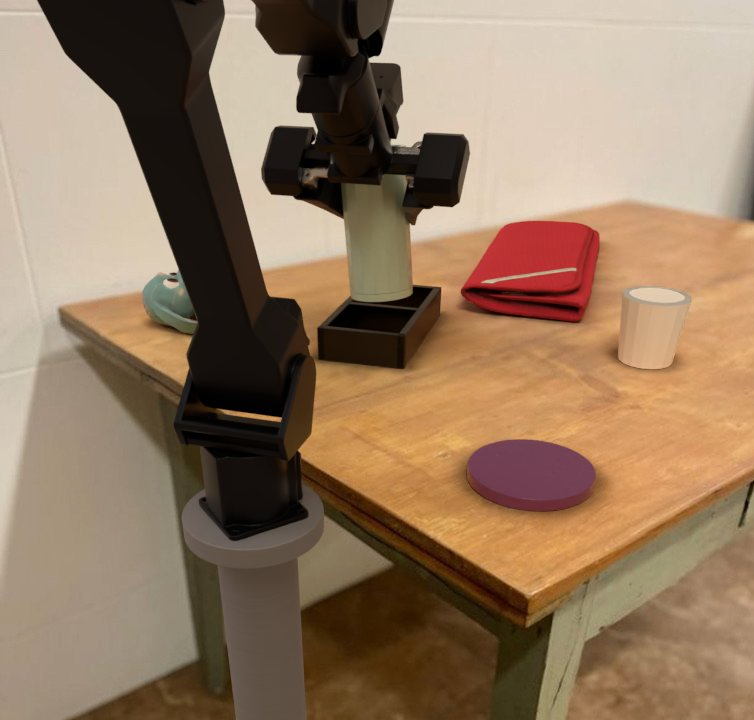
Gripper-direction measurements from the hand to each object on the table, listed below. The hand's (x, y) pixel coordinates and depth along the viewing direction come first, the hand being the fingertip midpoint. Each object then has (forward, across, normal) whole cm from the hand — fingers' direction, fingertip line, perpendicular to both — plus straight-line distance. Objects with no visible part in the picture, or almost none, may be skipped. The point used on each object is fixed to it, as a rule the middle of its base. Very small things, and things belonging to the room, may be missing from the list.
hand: (381, 218), depth 83 cm
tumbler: (+4, -1, +6) cm, 7 cm away
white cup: (+13, -28, +6) cm, 32 cm away
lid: (-8, -20, +27) cm, 35 cm away
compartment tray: (+12, 0, +7) cm, 14 cm away
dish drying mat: (+34, -13, -15) cm, 39 cm away
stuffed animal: (+10, +23, +9) cm, 26 cm away
